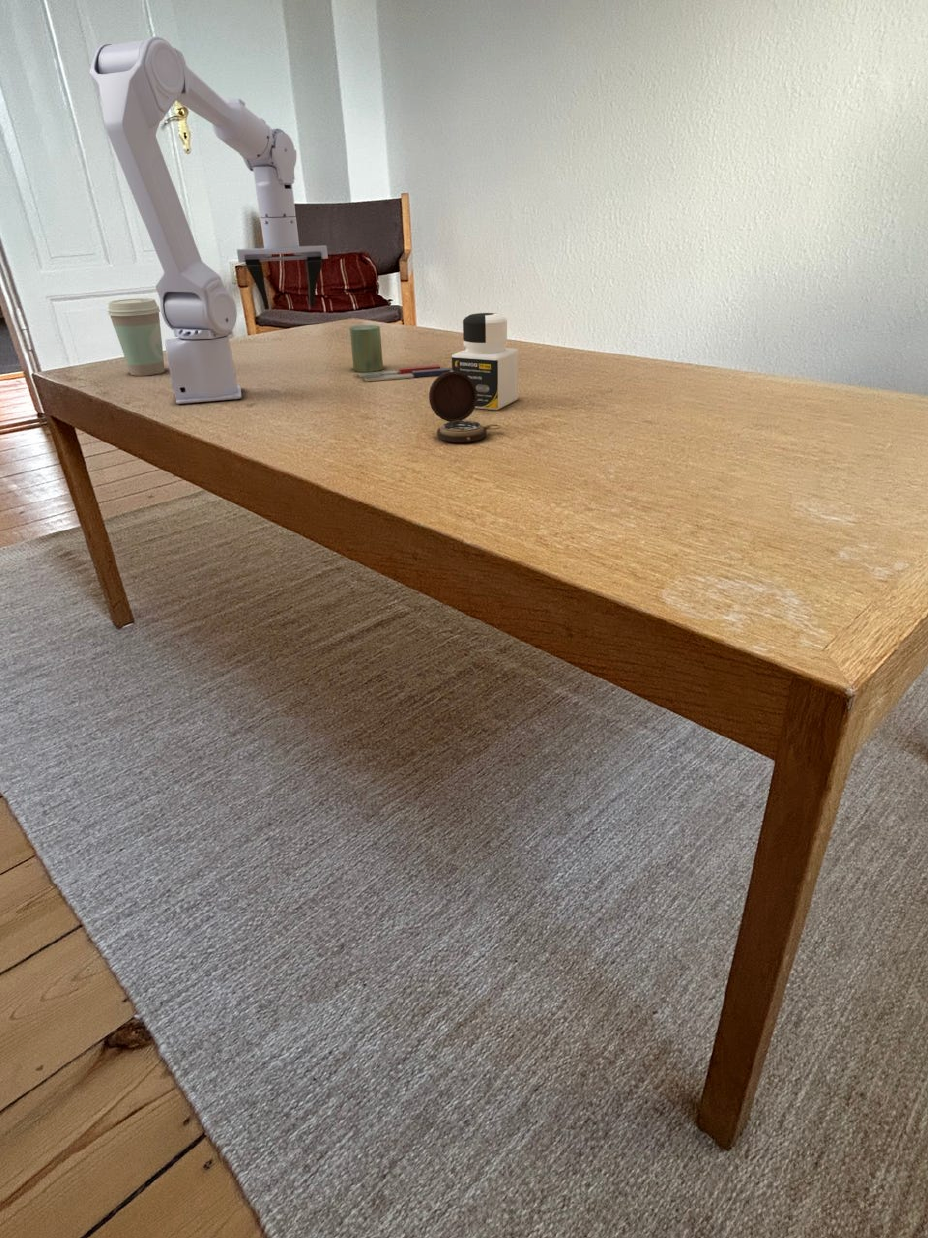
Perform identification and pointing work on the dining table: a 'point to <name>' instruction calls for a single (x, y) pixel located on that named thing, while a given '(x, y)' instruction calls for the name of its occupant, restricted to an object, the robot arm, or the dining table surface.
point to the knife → (410, 374)
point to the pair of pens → (401, 370)
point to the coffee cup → (139, 334)
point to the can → (366, 348)
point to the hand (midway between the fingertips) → (289, 307)
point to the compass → (456, 407)
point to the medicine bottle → (488, 360)
